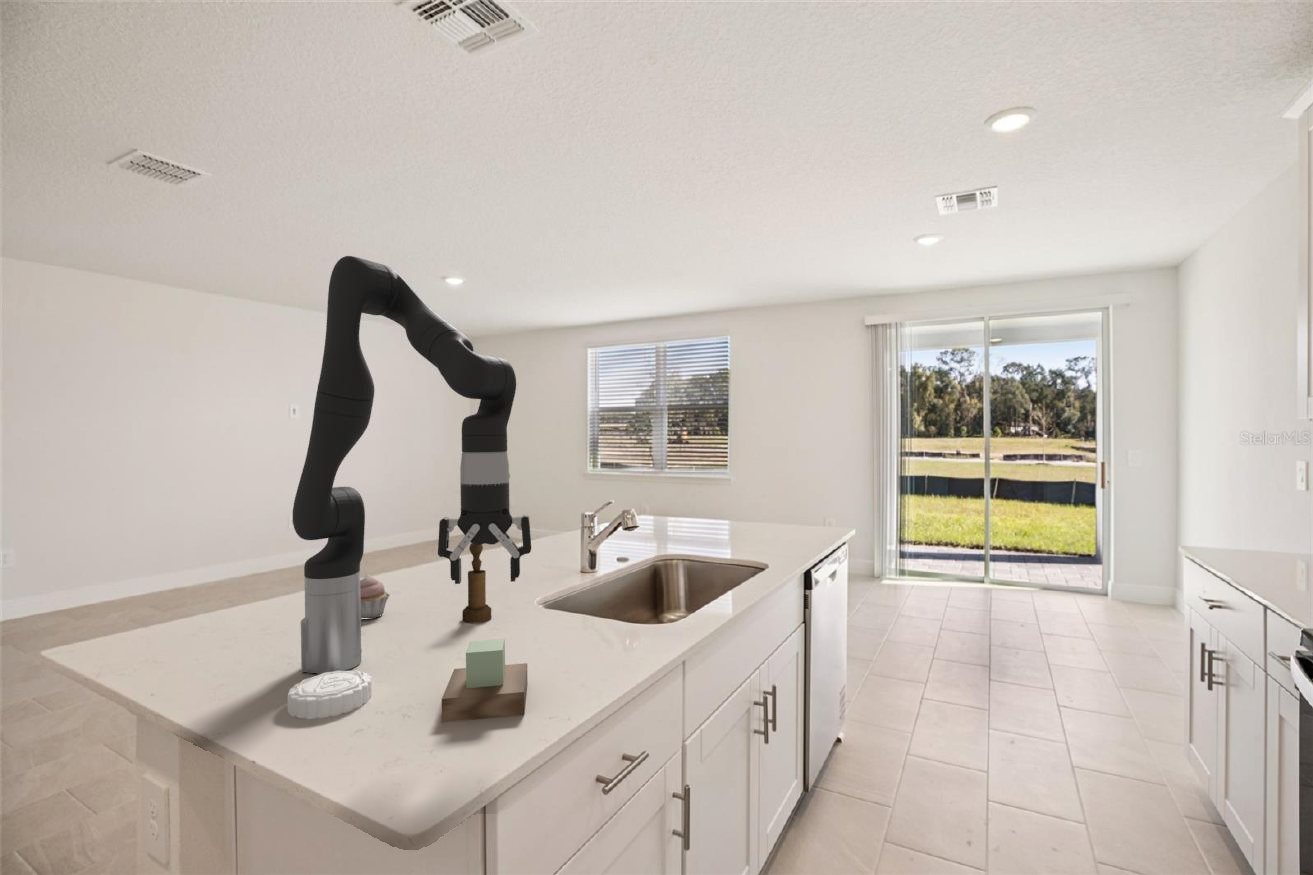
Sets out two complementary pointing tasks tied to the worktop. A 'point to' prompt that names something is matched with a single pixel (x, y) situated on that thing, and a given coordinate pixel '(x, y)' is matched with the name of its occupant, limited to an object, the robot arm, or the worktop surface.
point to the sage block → (485, 663)
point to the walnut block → (485, 696)
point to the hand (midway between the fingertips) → (486, 581)
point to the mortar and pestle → (476, 591)
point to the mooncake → (329, 694)
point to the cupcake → (372, 597)
